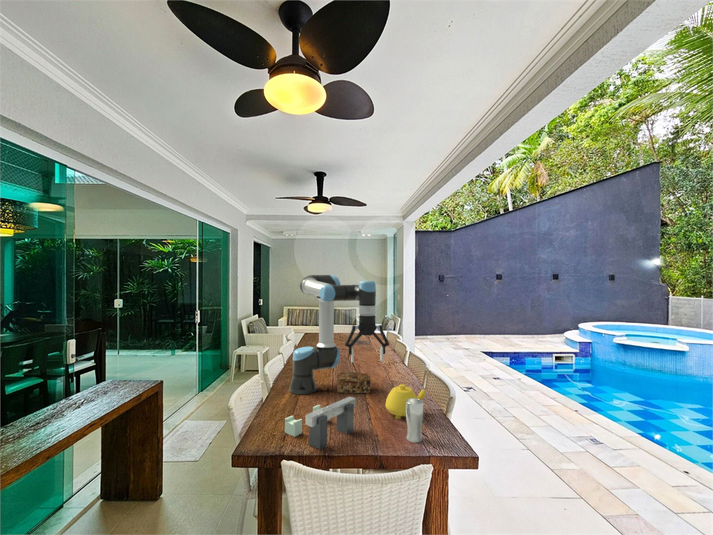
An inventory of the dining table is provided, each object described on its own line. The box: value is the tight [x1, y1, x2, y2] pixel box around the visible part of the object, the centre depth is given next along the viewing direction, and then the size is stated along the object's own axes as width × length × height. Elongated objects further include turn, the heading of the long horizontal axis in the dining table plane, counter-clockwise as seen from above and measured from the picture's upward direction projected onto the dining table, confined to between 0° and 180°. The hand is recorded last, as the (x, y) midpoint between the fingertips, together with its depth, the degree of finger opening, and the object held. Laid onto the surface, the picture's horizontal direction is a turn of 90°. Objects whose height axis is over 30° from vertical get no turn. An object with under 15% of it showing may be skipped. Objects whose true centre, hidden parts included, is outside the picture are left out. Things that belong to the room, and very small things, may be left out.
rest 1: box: [284, 415, 303, 438], centre depth 143 cm, size 6×4×6 cm, turn 52°
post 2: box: [336, 404, 355, 435], centre depth 146 cm, size 6×4×11 cm
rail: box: [304, 396, 357, 427], centre depth 140 cm, size 4×26×4 cm, turn 142°
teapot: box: [385, 384, 428, 420], centre depth 164 cm, size 20×16×14 cm
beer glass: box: [405, 398, 424, 444], centre depth 139 cm, size 7×7×15 cm
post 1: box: [308, 416, 328, 450], centre depth 133 cm, size 6×4×11 cm
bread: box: [336, 371, 372, 394], centre depth 197 cm, size 19×11×10 cm, turn 90°
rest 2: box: [312, 404, 330, 422], centre depth 156 cm, size 6×4×6 cm, turn 52°
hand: (366, 361), depth 159 cm, fingers open, 13 cm apart
